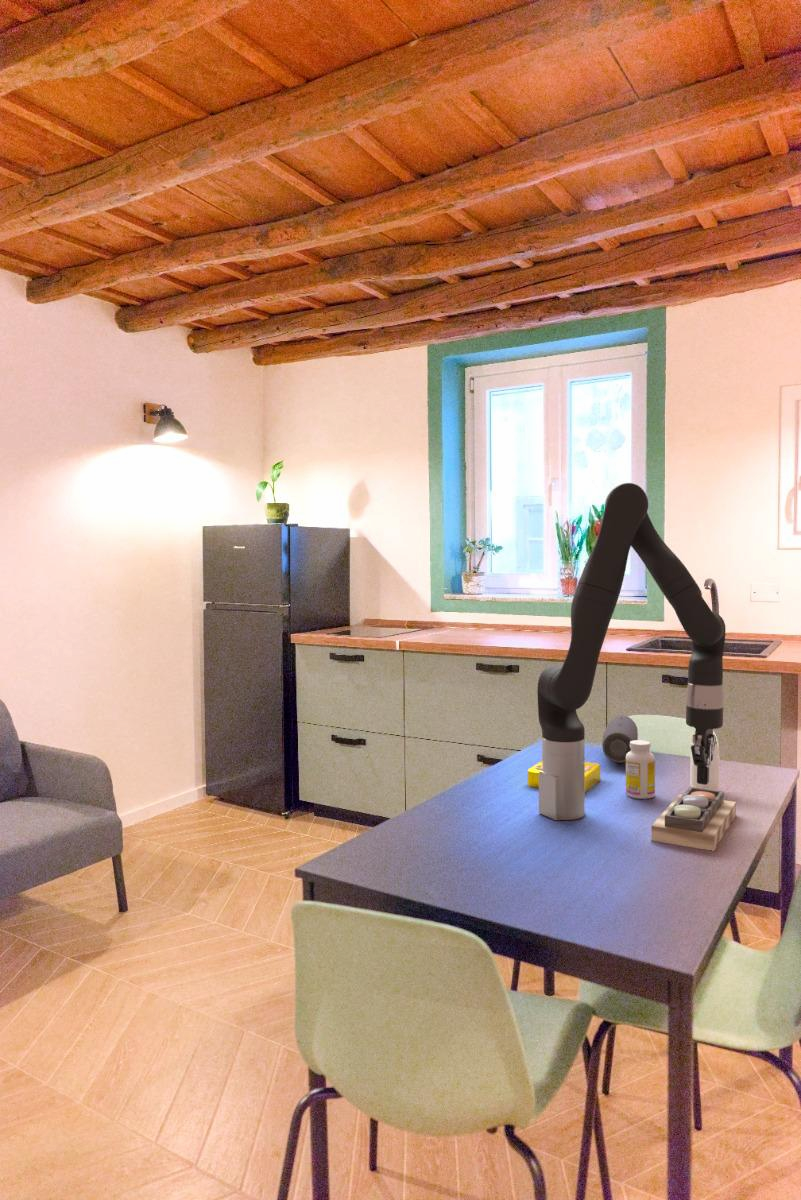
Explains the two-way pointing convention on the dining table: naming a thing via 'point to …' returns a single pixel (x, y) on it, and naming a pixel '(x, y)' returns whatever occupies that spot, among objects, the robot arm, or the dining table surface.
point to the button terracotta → (704, 794)
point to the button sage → (687, 811)
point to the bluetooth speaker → (619, 738)
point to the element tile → (590, 774)
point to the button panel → (695, 823)
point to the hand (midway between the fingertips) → (702, 783)
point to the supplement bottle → (640, 770)
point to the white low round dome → (696, 801)
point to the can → (713, 772)
